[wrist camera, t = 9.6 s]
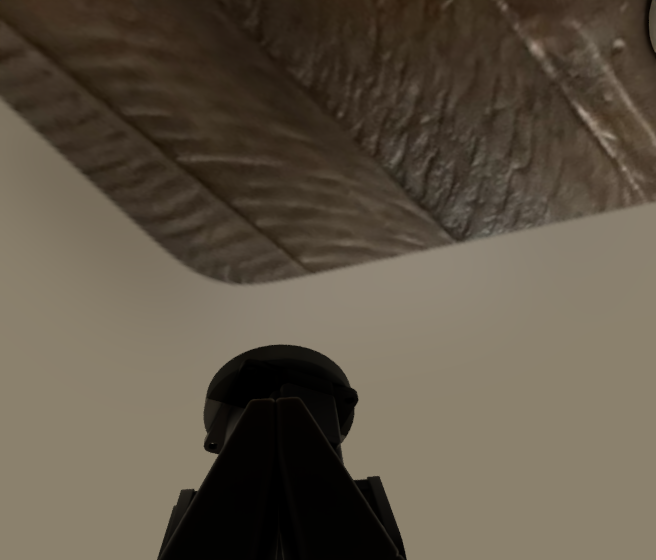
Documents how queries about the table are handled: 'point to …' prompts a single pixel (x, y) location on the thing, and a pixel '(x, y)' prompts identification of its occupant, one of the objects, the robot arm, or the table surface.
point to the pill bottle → (653, 24)
